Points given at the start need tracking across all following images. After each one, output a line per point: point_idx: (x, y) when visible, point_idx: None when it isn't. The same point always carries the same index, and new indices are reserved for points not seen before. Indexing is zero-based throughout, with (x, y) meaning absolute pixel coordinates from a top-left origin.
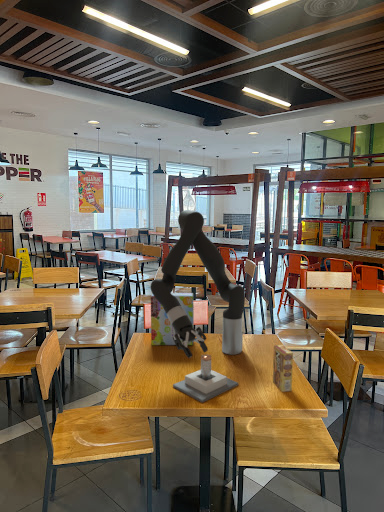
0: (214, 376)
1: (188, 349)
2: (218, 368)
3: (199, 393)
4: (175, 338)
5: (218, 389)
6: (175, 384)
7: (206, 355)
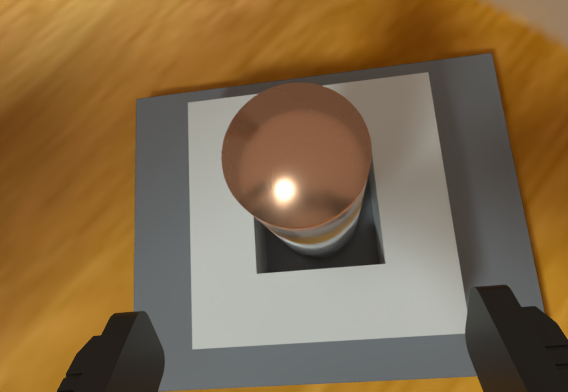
0: None
1: (554, 386)
2: (41, 389)
3: (452, 129)
4: None
5: None
6: None
7: (267, 176)
